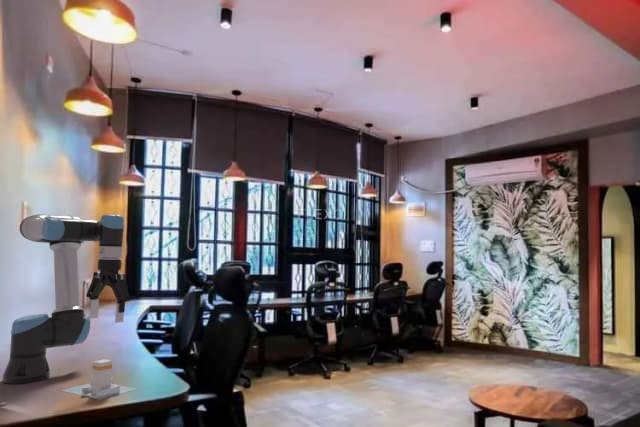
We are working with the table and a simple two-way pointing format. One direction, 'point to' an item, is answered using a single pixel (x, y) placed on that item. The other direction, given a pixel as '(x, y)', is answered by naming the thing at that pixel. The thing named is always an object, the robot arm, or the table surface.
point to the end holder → (101, 392)
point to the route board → (78, 389)
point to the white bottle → (101, 375)
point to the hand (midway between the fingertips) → (106, 320)
